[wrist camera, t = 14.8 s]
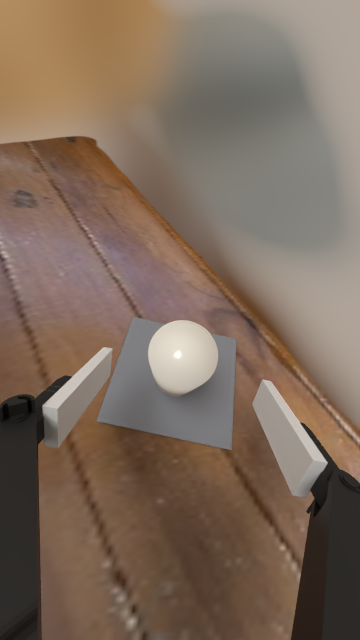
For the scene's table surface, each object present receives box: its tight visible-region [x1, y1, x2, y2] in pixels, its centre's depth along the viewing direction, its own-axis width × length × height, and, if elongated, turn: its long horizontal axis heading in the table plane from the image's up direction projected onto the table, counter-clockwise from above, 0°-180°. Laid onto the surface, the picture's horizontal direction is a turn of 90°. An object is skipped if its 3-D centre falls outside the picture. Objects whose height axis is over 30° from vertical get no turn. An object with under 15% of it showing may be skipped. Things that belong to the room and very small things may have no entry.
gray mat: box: [97, 317, 236, 450], centre depth 24 cm, size 16×14×1 cm
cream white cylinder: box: [148, 320, 218, 397], centre depth 19 cm, size 6×6×11 cm
